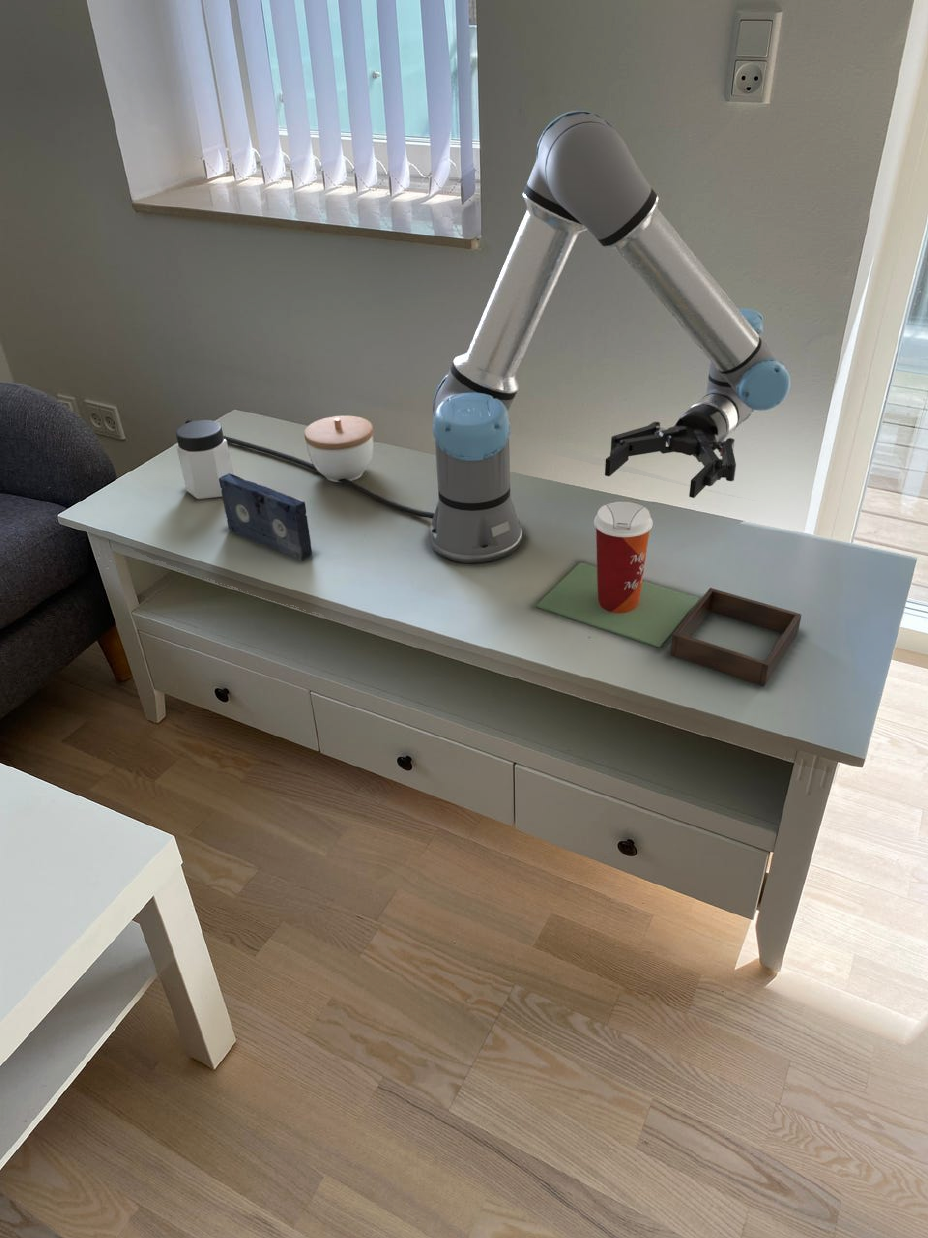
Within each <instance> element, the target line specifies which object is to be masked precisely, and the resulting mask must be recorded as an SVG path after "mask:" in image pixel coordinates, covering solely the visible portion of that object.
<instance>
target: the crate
mask: <svg viewBox="0 0 928 1238" xmlns="http://www.w3.org/2000/svg"><path fill="white" fill-rule="evenodd" d="M710 612H713V613H716V614H720V615H723V616H726V617H730V618H733V619H736V620H738V621H739V620H740V621H743V622H746V623H749V624H752V625H756V626H759V627H762V628H764V629H765V628H766V629H769V630H772V631H776V632H779V633H782V634H781V636H780V637H779V638H778V641H777V642H776V643H775V645H774V646H773V648H772V650H771V651H770V653H769V655H768V656H767V657H766V659H765V660H763V659H760V658H757V657H753V656H750V655H747V654H744V653H741V652H737V651H734V650H732V649H728V648H725V647H722V646H719V645H716V644H713V643H709V642H707V641H703V640H701V639H697V638H694V637H692V634H693V633H694V632H695V630H697V628H698V627H699V626H700V624H701V623H702V622H703V620H704V619H705V618H706V617H707V616H708V614H709V613H710ZM801 620H802V613H798V612H795V611H791V610H788V609H785V608H781V607H778V606H776V605H775V606H774V605H772V604H768V603H764V602H761V601H758V600H754V599H751V598H747V597H744V596H741V595H737V594H733V593H730V592H727V591H723V590H719V589H716V588H713V587H709V588H708V589H707V591H706V592H705V593H704V594H703V596H702V597H701V598H700V599H699V600H698V602H697V603H696V604H695V605H694V607H693V608H692V609H691V610H690V612H689V613H688V614H687V615H686V617H685V618H684V619H683V620H682V621H681V623H680V624H679V625H678V626H677V628H676V629H675V630H674V631H673V633H672V634H671V641H670V642H671V643H670V651H669V655H670V656H673V657H675V658H679V659H682V660H685V661H687V662H691V663H693V664H696V665H700V666H703V667H706V668H709V669H712V670H715V671H718V672H720V673H724V674H727V675H730V676H733V677H737V678H739V679H742V680H745V681H749V682H750V683H754V684H757V685H760V686H763V687H765V686H766V685H767V683H768V681H769V680H770V679H771V678H772V676H773V674H774V672H775V670H777V667H778V666H779V664H780V663H781V661H782V660H783V658H784V657H785V655H786V654H787V652H788V651H789V649H790V647H791V646H792V644H793V643H794V642H795V639H796V638H797V637H798V635H799V630H800V625H801Z"/></svg>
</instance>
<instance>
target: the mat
mask: <svg viewBox="0 0 928 1238" xmlns="http://www.w3.org/2000/svg"><path fill="white" fill-rule="evenodd" d="M699 601H700V597H699V596H694V595H692V594H688V593H685V592H681V591H678V590H675V589H671V588H668V587H665V586H661V585H659V584H655V583H652V582H648V581H644V580H642V586H641V592H640V598H639V603H638V606H637V607H636V608H635V609H634V610H632V611H630V612H626V613H613V612H609V611H607V610H605V609H603V608H602V607H601V606H600V605H599V601H598V583H597V566H595V565H591V564H589V563H584V562H579V563H578V564H577V565H576V566H575V567H574V568H573V569H572V570H570V572H569V573H567V575H566V576H565V577H564V578H563V579H561V580H560V582H558V583H557V584H556V585H555V586H554V587H553V588H552V589H551V590H550V591H549V592H548V593H547V594H546V595H545V596H544V597H543V598H542V599H541V600H540V601H539V602H538V603H537V604H536V605H535V607H536V608H538V609H541V610H545V611H547V612H549V613H553V614H556V615H558V616H562V617H565V618H568V619H571V620H574V621H577V622H580V623H583V624H586V625H588V626H592V627H595V628H598V629H601V630H604V631H607V632H610V633H612V634H613V633H614V634H617V635H619V636H623V637H626V638H628V639H631V640H634V641H638V642H640V643H643V644H646V645H649V646H652V647H655V648H658V649H660V648H661V647H662V646H663V645H664V644H665V643H666V642H667V640H668V639H669V637H670V636H672V634H673V633H674V632H675V630H676V629H677V628H678V627H679V625H680V624H681V623H682V622H683V621H684V619H685V618H686V617H687V616H688V614H689V613H690V612H691V611H692V609H693V608H694V607H695V606H696V604H697V603H698V602H699Z"/></svg>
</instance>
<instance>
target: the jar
mask: <svg viewBox="0 0 928 1238" xmlns="http://www.w3.org/2000/svg"><path fill="white" fill-rule="evenodd" d="M192 421H193V422H189V423H186V422H185V423H186V424H185V423H183V424H182V425H180V426H179V427H177V428H176V430H175V437H176V441H177V444H176V445H175V446H176V451H177V455H178V459H179V465H180V469H181V474H182V477H183V481H184V486H185V490H186V492H188V493H189V494H190V495H191V496H193V497H194V498H196V500H204V499H205V500H206V499H214V498H221V497H222V492H221V490H222V488H220V483H219V478H220V477H222V476H224V475H226V474H228V473H230V474H233V475H234V472H233V465H232V461H231V455H230V450H229V446H228V442H227V440H226V439H224V437H223V436H224V432H223V428H222V424H221V423H220V422H218V421H215V420H211V419H199V420H192ZM222 498H223V497H222Z"/></svg>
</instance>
